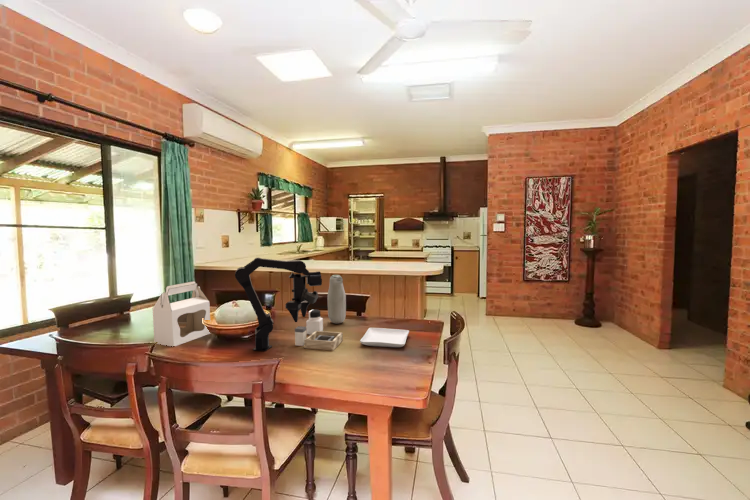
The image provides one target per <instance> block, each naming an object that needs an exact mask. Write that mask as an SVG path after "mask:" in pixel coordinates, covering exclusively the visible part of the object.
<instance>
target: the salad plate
mask: <svg viewBox="0 0 750 500" xmlns="http://www.w3.org/2000/svg"><path fill="white" fill-rule="evenodd" d="M409 333H410V330H408V329H401V328H400V329H398V328H385V327H384V328H383V327H368V329H367V330H366V332H365V333H364V334H363V336H362V337H361V339H360V340H359V343H360V344H362V345H365V346H370V347H382V348H402V347H404V346H405V344H406V341H407V338H408V335H409Z"/></svg>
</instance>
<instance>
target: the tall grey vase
mask: <svg viewBox="0 0 750 500" xmlns="http://www.w3.org/2000/svg"><path fill="white" fill-rule="evenodd" d="M343 281H344V279H343V277H342V276H341V275H340V274H332V275H331V276H330V278H329V287H328V291H327V315H328V316H327V317H328V319H329V321H330V322H331V323H332V324H335V325H336V324H337V325H338V324H341V323H343V322H344V321H345V319H346V314H347V294H346V291H345V287H344V283H343Z"/></svg>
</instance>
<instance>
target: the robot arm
mask: <svg viewBox="0 0 750 500" xmlns="http://www.w3.org/2000/svg"><path fill="white" fill-rule="evenodd" d="M259 268H269V269H279V270H285V271H289V272H291V274H290V275H288V278H289V279H292V283H293V284H292V286H293V287H292V289H291V292H292V293H293V294H292V295H293V297H292V298H291V300H289V301H287V302H286V303H285V305H284V307H285V309H286V310H288V312H289V315H290V316H291V317H292V319H293V320H294V322H295V323H298V320H299V311H300V312H301V315H302V317H303V318H304V317H305V318H306V315H307V311H308V307H309V305H310V304H314V303H315V304H316V303H317V300H318V299H319V294H318V291H316V290H313V292H312V291H311V292H309V290H308V288H307V287H306V285H308V286H309V287H317V286H320V287H321V286H322V285H323V284H322V283H323V279H322V272H321V271H309V270H308V269H307V265H306V263H305V262H304V261H302V260H300V259H292V260H279V259H272V258H271V259H269V258H261V257H255V258H254V259H253V260H252V261H250V262H249V263H247V264H245V265H244V266H241V267H238V268H237V269H236V271H235V272H234V277H235V280H236V281H237V282H238V283H239V285H240V286H241V287H242V289H243V290H244V292H245V293H246V296H247V298H248V301H249V302H250V303H249V304H250V305H251V306H252V308H253V311H254V314H255V315H256V318H257V323H258V326H257V327H256V328H255V329H254V330H255V331H254V333H255V337H254V339H255V340H254V341H255V347H254V348H252V351H258V352H267V351H268V350H269V349H270V348H272V347H273V345H272V344H271V345H270V333H271V332H272V331H273V329H274V324H275V323H274V322H275V321H274V319H272V316H271V313H270V312H268V313H267V312H266V311H265V309H264V308H263V306H262V303H261V301H260V299H259V296H258V294H257V292H256V291H255V288H254V286H253V283H252V280H251V279H252V278H251V274H253V273H254V272H255V271H256V270H257V269H259ZM301 274H302V275H301Z"/></svg>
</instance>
